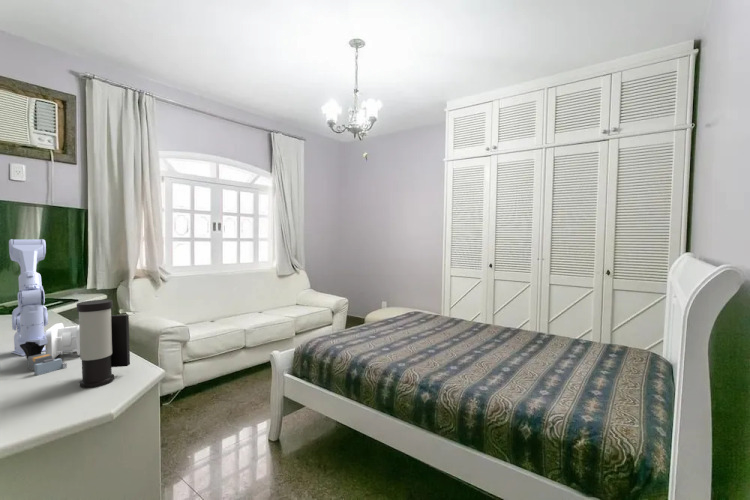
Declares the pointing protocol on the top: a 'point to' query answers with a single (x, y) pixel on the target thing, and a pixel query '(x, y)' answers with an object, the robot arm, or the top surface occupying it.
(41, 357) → the module
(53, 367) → the end clamp
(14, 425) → the top surface
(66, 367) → the rail
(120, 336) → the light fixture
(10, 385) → the top surface
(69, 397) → the top surface
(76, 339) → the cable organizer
